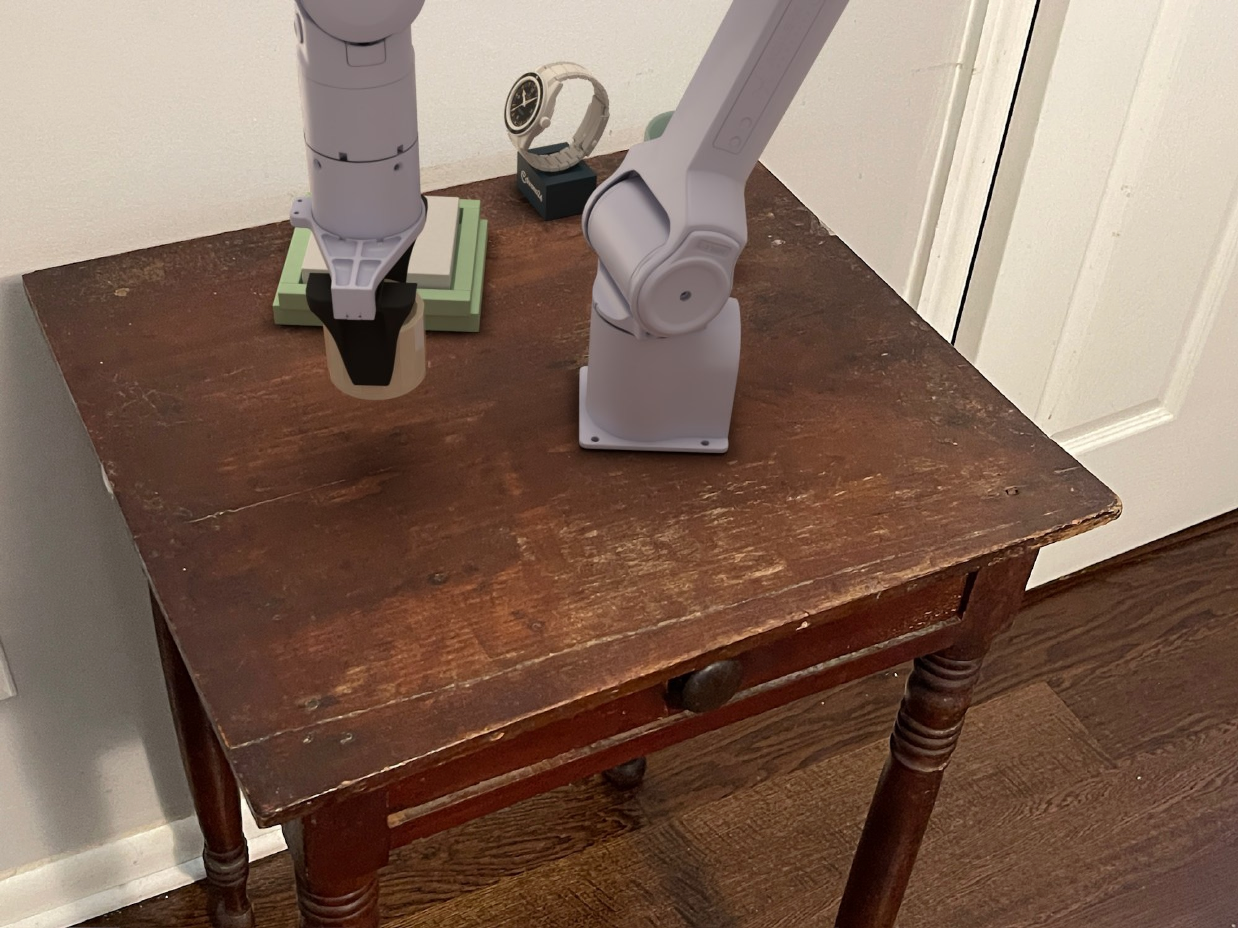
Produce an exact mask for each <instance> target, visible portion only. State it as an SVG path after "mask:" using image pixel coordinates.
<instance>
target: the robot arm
mask: <svg viewBox="0 0 1238 928" xmlns="http://www.w3.org/2000/svg"><path fill="white" fill-rule="evenodd" d="M850 1H851V0H732V1H731V3H730V5H729V7H728V10H727V11H726V13H725V15H724V17H723V19H722V20H721V23H720V24H719V26H718V27H717V28H718V29H717V30H716V32H715V34H714V36H713V37H712V40H711V42H710V43H709V45H708V47H707V49H706V51H705V53H704V55H703V57H702V59H701V61H700V63H699V64H698V66H697V68H696V70H695V72H694V74H693V76H692V78H691V80H690V81H689V83H688V85H687V87H686V88H685V90H684V93H683V95H682V97H681V99H680V100H679V102H678V104H677V106H676V107H675V109H674V111H675V112H674V114H673V116H672V118H671V119H670V121H669V123H668V125H667V127H666V129H665V131H664V133H663V135H662V136H661V137H659V138H656V139H653V140H649V141H645V142H643V141H642V142H639V143H636V144H633V145H632V146H630V147H629V150H628V151H627V153H626V155H625V157H624V159H623V161H622V162H621V164H620V165H619V167H617V168H616V170H615V171H614V172H613V173H612V174H611V175H610V176H608V177H607V179H605V180H604V181H603V182H602V183H600V184H599V185H597V186H596V190H595V191H594V192H593V193H592V195H591V196H590V198H589V199H588V201H587V203H586V205H585V208H584V211H583V213H582V215H581V229H582V230H581V231H582V234H583V237H584V239H585V241H586V242H587V245H588V246H589V247H590V249H591V250H592V251H593V252H594V253H595V254H597V256H598V257H597V268H596V269H597V271H596V277H595V279H594V282H593V286H592V293H591V294H592V295H591V308H590V328H589V341H588V357H587V365H583V366H581V367H580V368H579V373H578V375H579V378H578V379H579V381H578V383H579V386H578V388H579V389H578V392H579V394H578V399H579V400H578V401H579V402H578V403H579V404H578V413H579V414H578V443H579V446H580V447H581V448H584V449H592V450H593V449H594V450H623V451H625V450H626V451H648V452H649V451H651V452H675V453H676V452H678V453H682V452H683V453H709V454H712V453H713V454H723V453H724V454H725V453H727V451H728V449H729V439H728V438H729V431H730V426H731V419H732V412H733V406H734V399H735V394H736V387H737V382H738V381H737V380H738V374H739V366H740V357H741V345H742V344H741V341H742V340H741V339H742V336H741V335H742V323H741V321H742V320H741V311H740V310H741V309H740V303H739V300H738V298H735V297H732V296H731V293H732V291H733V286H734V277H735V276H734V273H735V267H736V264H737V261H738V259H739V257H740V256H741V253H742V252H743V250H744V248H745V247H746V246H747V243H748V224H747V223H748V222H747V213H746V202H745V196H744V184H745V182H746V180H747V181H748V179H749V177H750V175H751V173H752V172H753V170H754V168H755V167H756V165H757V163H758V161H759V159H760V158H761V156H762V155H763V152H764V150H765V149H766V147H767V145H768V144H769V142H770V140H771V138H772V137H773V135H774V134H775V132H776V130H777V128H778V126H779V124H780V123H781V121H782V119H783V118H784V116H785V115H786V112H787V111H788V109H789V107H790V105H791V103H792V102H793V100H794V99H795V97H796V95H797V93H798V91H799V89H800V88H801V86H802V84H803V82H804V81H805V79H806V78H807V75H808V74H809V72H810V70H811V68H812V67H813V66H814V64H815V62H816V60H817V58H818V57H819V55H820V54H821V51H822V49H823V48H824V46H825V44H826V43H827V40H828V39H829V37H830V35H831V34H832V33H833V30H834V28H835V26H836V25H837V23H838V22H839V20H840V19H841V17H842V15H843V13H844V11H845V9H846V8H847V6H848V4H849V3H850ZM425 2H426V0H293V6H294V7H293V8H294V16H293V27H294V28H293V29H294V33H295V37H296V39H297V41H296V46H295V64H296V72H297V82H298V90H299V91H298V92H299V101H300V110H301V119H302V129H303V130H302V131H303V138H304V148H305V157H306V166H307V176H308V185H309V192H310V195H311V197H305V196H298V197H296V198H294V199H293V200H292V201H291V205H290V209H289V212H288V214H289V215H288V216H289V222H290V225H291V226H292V227H294V228H295V227H298V228H308V229H310V230H311V231H312V233H313V235H314V238H315V240H316V243H317V245H318V247H319V250H320V252H321V255H322V257H323V259H324V262H325V264H326V267H327V269H328V271H329V273H309V277H308V281H307V286H306V300H307V303H308V306H309V309H310V311H311V312H313V313H314V314H315V315H316V316H317V317H318V318H319V319H320V320H321V322H322V323H323V324H324V325H325V326H326V328H327V329H328V331H329V332H330V334H331V335H332V337H333V339H334V341H335V343H336V345H337V348H338V350H339V352H340V355H341V358H342V360H343V363H344V366H345V368H346V371H347V373H348V375H349V377H350V379H351V381H352V383H353V384H354V385H362V386H388V385H389V384H390V381H391V378H392V374H393V370H394V363H395V356H396V348H397V340H398V336H399V333H400V330H401V327H402V325H403V323H404V321H405V320H406V318H407V317H408V316H409V314H410V312H411V310H412V307H413V305H414V302H415V298H416V291H417V283H406V281H407V273H408V266H409V261H410V257H411V254H412V250H413V247H414V245H415V242H416V240H417V237H418V236H419V235H420V233H421V232H422V230H423V229H424V226H425V222H426V218H427V211H428V200H427V198H426V197H425V196H426V195H423V194H422V191H421V189H422V188H421V169H420V168H421V167H420V143H419V141H420V140H419V129H418V127H419V124H418V102H417V101H418V100H417V98H418V97H417V79H416V77H417V75H416V53H415V48H414V45H413V39H412V37H413V36H412V25H413V23H414V22H415V20H416V19H417V17H418V16H419V15H420V13H421V11H422V9H423V8H424V5H425ZM384 279H390V280H393V281H397V282H384ZM730 296H731V297H730Z"/></svg>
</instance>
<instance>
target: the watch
mask: <svg viewBox="0 0 1238 928" xmlns="http://www.w3.org/2000/svg"><path fill="white" fill-rule="evenodd" d="M576 79H580V80H584V81H588V82H590V83H591V85H592V87H593V95H592V96H591V102H590V103H588V106H587V109H586V111H585V114H584V116H583V118H582V121H581V123H580V124H579V126H578V128H577V130H576V131H575V133H574V134H573V136H572V140H573V141H572V142H571V143H570V144H569V143H568V142H567V141H564V142H559V143H554V144H548V145H543V146H537V147H533V148H532V147H531V145H532V143H533V141H534V139H535V138H537V137H538V136H540V134H542V133H543V132H544V131H545V129H548V128H549V127H550V126H551V124H552V121H551V120H552V118H553V115H554V112H555V106H556V102H557V100H556V99H557V97H558V96H559V93H561V91H562V90H563V86H564V83H563V82H564V81H567V80H576ZM610 116H611V114H610V98H609V94H608V92H607V90H606V89H605V87H604V85H603V84H602V83H601V82H600V81H599V80H598V79H597V78H596V77H595V76H594V75H593V74H592V73H591V72H590V71H589V70H588V69H587V68H585V67H584V66H583V65H582V64H579V63H575V62H572V61H562V60H561V61H555V62H550V63H546V64H541V65H539V66H538V67H536V68H535V69H534V70H530V71H527V72H524V73H523V74H521V75H520V76H519V77H518V78H517V79H516V80H515V82H514V83H513V84H512V86H511V88H510V90H509V92H508V94H507V97H506V100H505V104H504V109H503V121H504V126H505V128H506V132H507V136H508V138H509V140H510V142H511V143H512V145H513V147H514V148H515V149H516V150H517V152H516V153H517V154H516V187H517V189H519V191H520V192H521V193H522V195H524V197H525V198H526V199H527V201H529V203H530V204H531V205H532V207H533V208H534V209H535V211H537V213H538V214H539V216H541V218H542V219H543V220H544V221H546V222H547V221H552V220H555V219H556V220H557V219H560V218H564V217H570V216H573V215H575V216H576V215H580V214H583V211H584V208H585V205H586V203H587V201H588V199H589V198H590V196H591V195H592V193H593V192H594V191H595V190H596V189H597V187H598V185H597V184H598V175H597V173H596V172H595V171H594V170H593V169H592V168H591V167H590V166H589V165H588V163H587V162H586V161H585V160H584V158H585V157H586V158H587V157H588V158H589V156H590V155H591V154H592V152H593V151H594V150H595V148H596V147H597V145H598V144H599V142H600V140H601V138H602V136H603V134H604V132H605V130H606V128H607V126H608V125H607V124H608V122H609V119H610ZM530 147H531V148H530Z"/></svg>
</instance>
